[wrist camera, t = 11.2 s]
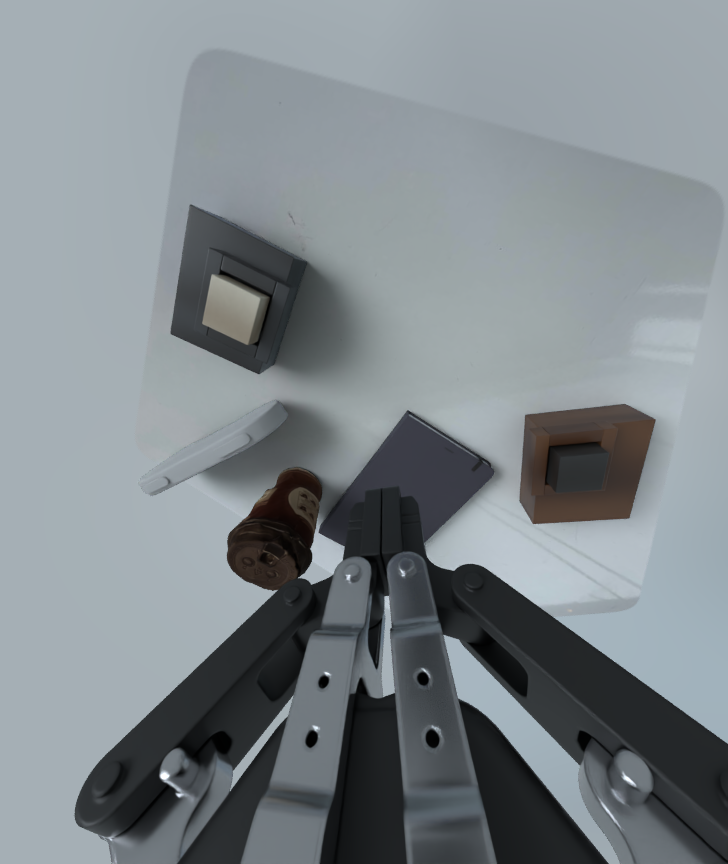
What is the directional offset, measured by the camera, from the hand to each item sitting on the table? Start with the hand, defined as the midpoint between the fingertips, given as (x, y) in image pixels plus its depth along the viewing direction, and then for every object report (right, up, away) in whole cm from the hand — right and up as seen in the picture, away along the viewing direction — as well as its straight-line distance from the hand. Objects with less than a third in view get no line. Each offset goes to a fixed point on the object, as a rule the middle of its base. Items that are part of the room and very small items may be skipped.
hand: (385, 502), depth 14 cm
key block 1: (-13, +17, +17) cm, 27 cm away
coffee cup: (-9, -4, +27) cm, 29 cm away
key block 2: (+23, 0, +22) cm, 31 cm away
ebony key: (+19, 0, +16) cm, 25 cm away
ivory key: (-11, +14, +12) cm, 22 cm away
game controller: (-18, +3, +24) cm, 30 cm away
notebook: (+4, -5, +26) cm, 27 cm away
